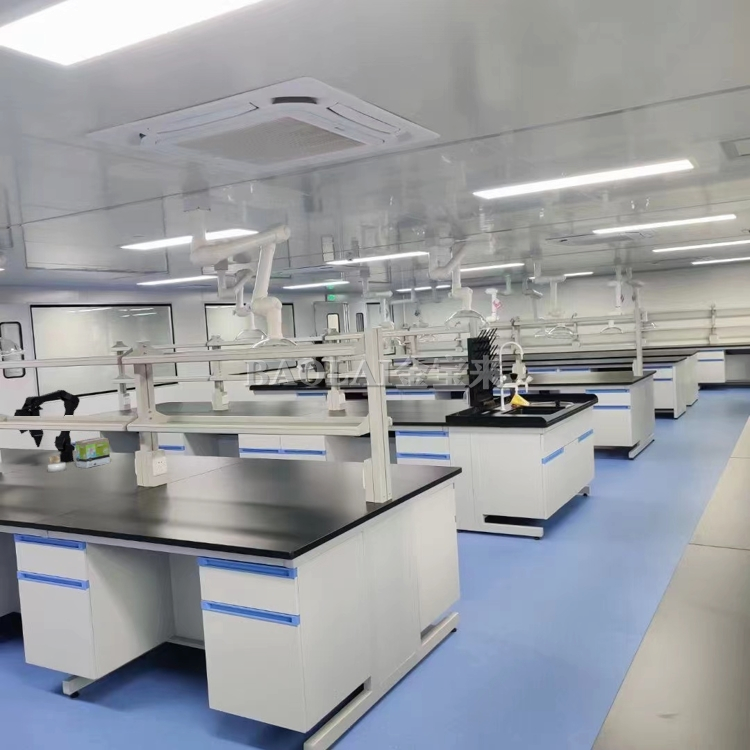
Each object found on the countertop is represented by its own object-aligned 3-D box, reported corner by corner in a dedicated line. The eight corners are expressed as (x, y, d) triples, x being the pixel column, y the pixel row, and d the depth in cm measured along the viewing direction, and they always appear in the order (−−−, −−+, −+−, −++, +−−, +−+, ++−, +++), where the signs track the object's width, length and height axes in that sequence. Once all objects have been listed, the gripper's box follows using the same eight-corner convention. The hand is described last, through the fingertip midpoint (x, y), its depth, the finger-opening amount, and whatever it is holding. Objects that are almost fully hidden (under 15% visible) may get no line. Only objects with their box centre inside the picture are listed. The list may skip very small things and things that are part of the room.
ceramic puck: (64, 468, 373) (64, 461, 373) (67, 470, 366) (66, 463, 365) (47, 471, 368) (46, 463, 368) (49, 473, 361) (48, 466, 361)
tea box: (87, 468, 368) (85, 442, 367) (76, 467, 374) (74, 441, 373) (110, 463, 381) (108, 437, 380) (99, 462, 386) (97, 436, 385)
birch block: (59, 466, 381) (58, 455, 380) (60, 467, 377) (59, 456, 376) (49, 467, 378) (48, 457, 378) (50, 468, 374) (49, 458, 374)
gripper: (17, 419, 380) (20, 446, 381) (19, 422, 364) (22, 450, 365) (39, 416, 385) (42, 443, 387) (41, 419, 369) (45, 447, 371)
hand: (37, 446), depth 377 cm, fingers open, 9 cm apart
